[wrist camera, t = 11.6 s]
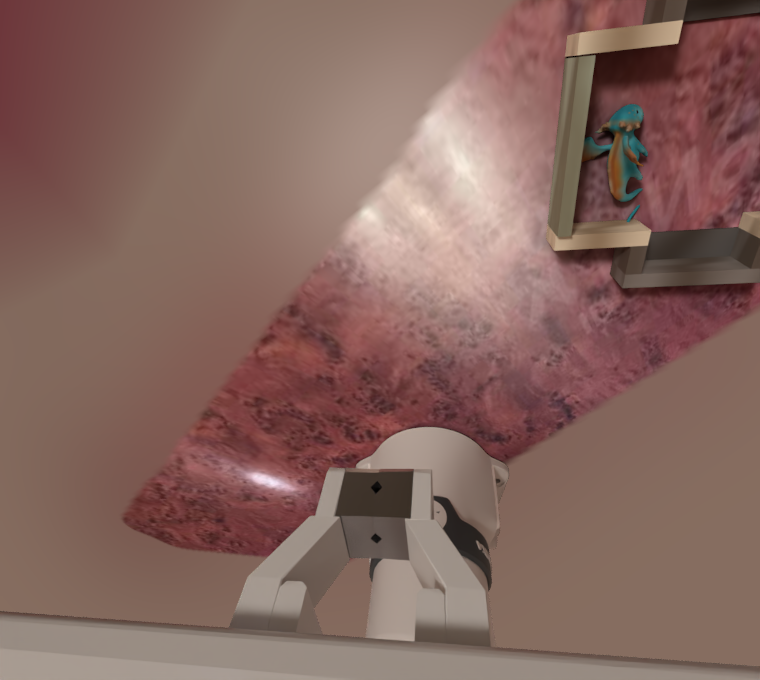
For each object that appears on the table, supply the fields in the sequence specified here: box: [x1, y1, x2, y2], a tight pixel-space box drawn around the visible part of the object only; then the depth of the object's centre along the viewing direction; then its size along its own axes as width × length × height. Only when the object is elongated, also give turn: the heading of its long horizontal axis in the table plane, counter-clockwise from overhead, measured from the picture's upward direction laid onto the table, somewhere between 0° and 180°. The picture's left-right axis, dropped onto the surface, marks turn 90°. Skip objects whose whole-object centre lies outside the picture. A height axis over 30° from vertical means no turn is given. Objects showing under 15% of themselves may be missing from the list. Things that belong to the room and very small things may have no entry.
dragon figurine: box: [581, 104, 648, 222], centre depth 33 cm, size 6×7×8 cm
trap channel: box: [546, 0, 760, 288], centre depth 31 cm, size 19×22×4 cm
